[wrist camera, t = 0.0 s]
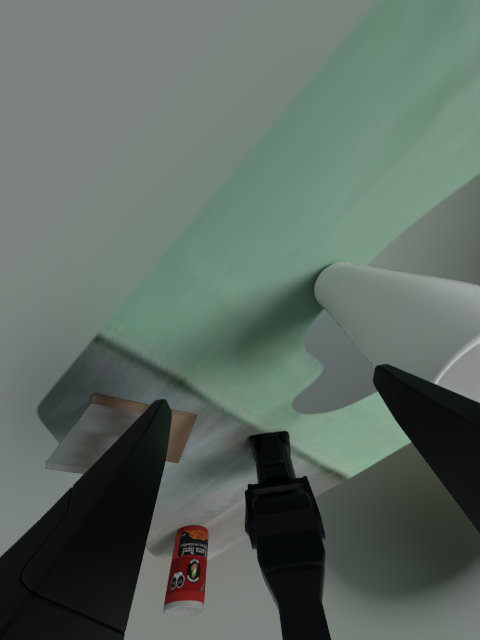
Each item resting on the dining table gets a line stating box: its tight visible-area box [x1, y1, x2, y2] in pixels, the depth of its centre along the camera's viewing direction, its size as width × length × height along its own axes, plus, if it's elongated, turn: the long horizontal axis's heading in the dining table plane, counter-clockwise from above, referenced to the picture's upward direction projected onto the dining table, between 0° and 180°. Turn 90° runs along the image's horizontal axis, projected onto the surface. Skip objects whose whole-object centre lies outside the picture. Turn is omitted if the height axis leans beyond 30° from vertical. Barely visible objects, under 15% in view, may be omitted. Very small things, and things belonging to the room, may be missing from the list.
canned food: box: [163, 526, 208, 617], centre depth 43 cm, size 8×8×11 cm
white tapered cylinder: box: [314, 261, 480, 403], centre depth 15 cm, size 7×7×15 cm
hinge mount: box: [45, 393, 197, 474], centre depth 27 cm, size 14×12×9 cm
